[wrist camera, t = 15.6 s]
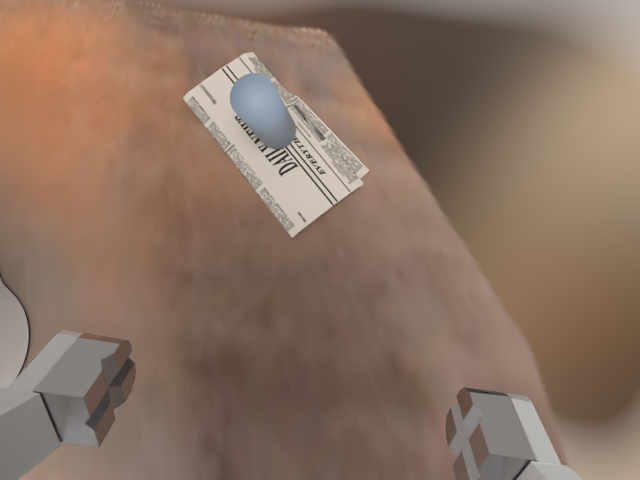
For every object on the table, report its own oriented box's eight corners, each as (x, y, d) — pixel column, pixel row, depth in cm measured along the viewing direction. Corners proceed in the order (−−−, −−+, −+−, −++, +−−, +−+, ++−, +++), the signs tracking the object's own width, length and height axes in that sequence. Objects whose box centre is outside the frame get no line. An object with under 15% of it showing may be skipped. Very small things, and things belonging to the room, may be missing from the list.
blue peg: (256, 147, 44) (226, 116, 35) (262, 110, 44) (233, 71, 35) (292, 151, 43) (271, 121, 34) (298, 114, 43) (278, 74, 34)
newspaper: (373, 179, 45) (376, 172, 43) (293, 241, 44) (291, 237, 42) (262, 47, 48) (258, 33, 46) (184, 102, 47) (177, 91, 45)
